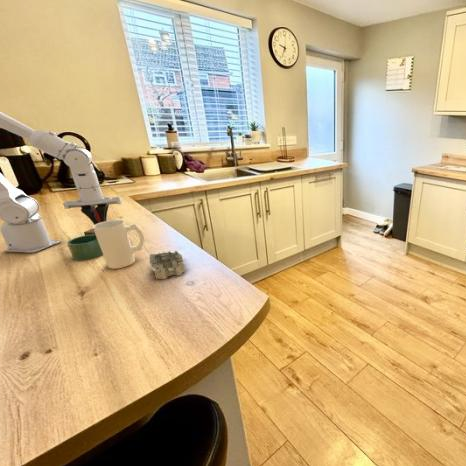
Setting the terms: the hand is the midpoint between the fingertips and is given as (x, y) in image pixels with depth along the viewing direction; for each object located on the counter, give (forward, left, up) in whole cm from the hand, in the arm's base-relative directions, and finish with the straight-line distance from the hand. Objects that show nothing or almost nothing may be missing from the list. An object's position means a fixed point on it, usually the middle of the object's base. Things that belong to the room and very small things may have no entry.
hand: (101, 226), depth 97 cm
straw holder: (0, 0, -4) cm, 4 cm away
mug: (+22, -16, -4) cm, 28 cm away
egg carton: (+36, -19, -4) cm, 41 cm away
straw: (0, 0, -4) cm, 4 cm away
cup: (+7, -13, -4) cm, 15 cm away
